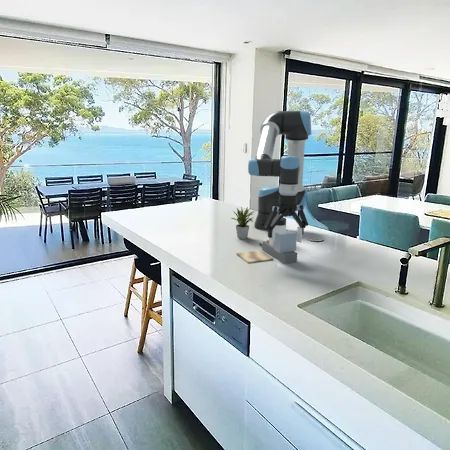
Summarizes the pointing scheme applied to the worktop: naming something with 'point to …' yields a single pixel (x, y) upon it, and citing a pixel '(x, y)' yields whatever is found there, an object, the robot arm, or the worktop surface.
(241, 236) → the house plant
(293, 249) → the block
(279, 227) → the jar
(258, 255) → the tan flat square block
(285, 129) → the robot arm
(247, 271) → the worktop surface
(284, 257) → the power strip
